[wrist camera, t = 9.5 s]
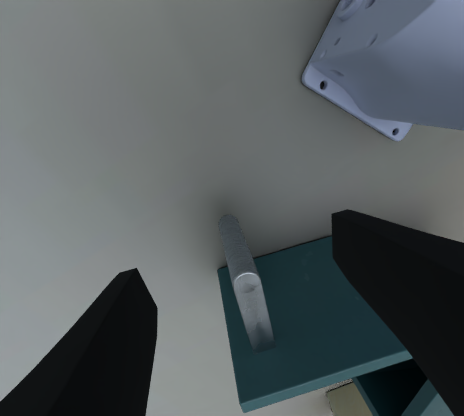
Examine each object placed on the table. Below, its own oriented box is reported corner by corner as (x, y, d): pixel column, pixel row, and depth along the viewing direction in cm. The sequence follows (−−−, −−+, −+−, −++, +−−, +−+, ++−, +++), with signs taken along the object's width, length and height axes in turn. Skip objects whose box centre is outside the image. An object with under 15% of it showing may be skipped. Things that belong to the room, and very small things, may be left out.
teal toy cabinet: (322, 327, 27) (392, 450, 18) (357, 233, 22) (482, 337, 13) (382, 322, 29) (476, 433, 19) (427, 233, 24) (586, 326, 14)
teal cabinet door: (196, 209, 18) (205, 325, 9) (351, 165, 19) (506, 233, 10) (219, 277, 21) (243, 414, 12) (350, 238, 22) (466, 341, 13)
